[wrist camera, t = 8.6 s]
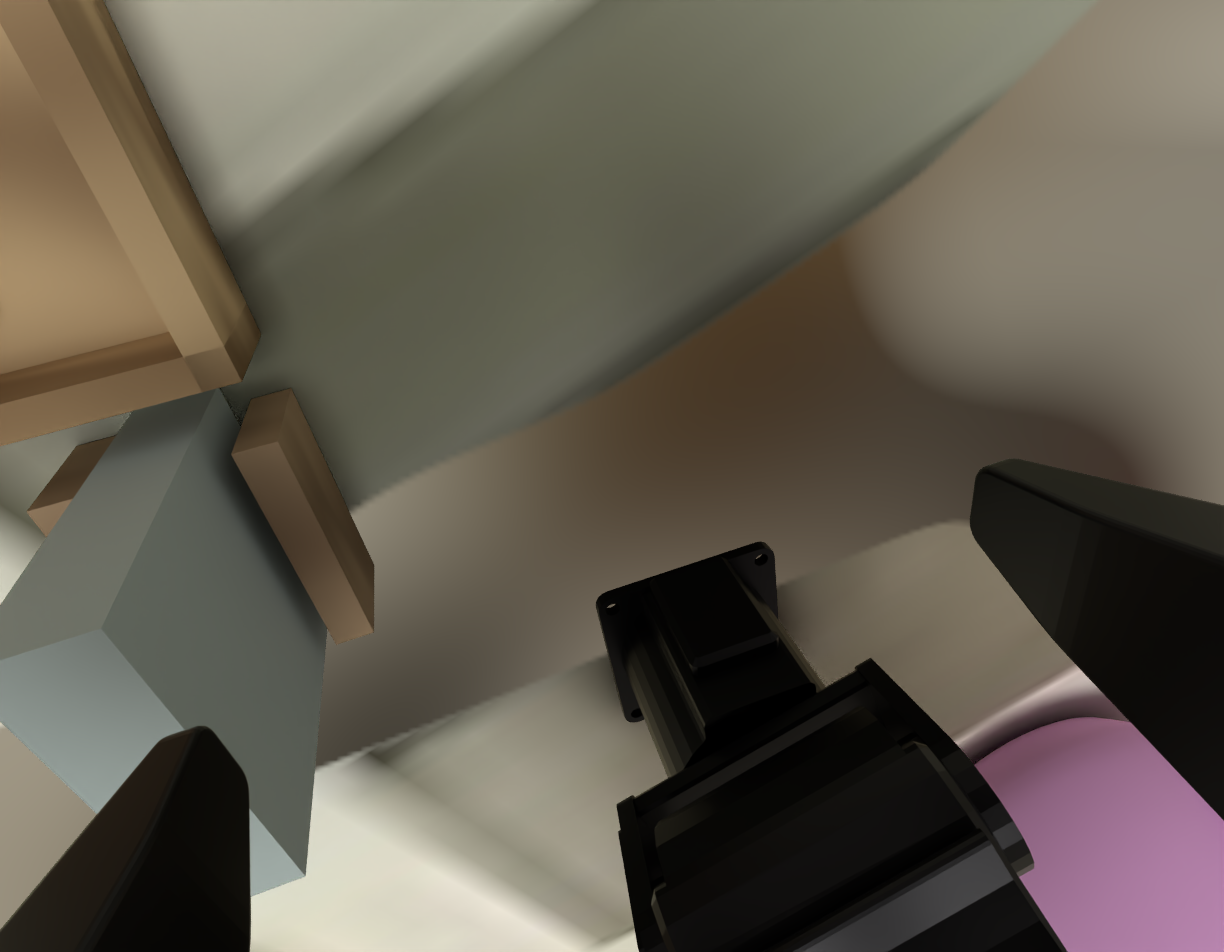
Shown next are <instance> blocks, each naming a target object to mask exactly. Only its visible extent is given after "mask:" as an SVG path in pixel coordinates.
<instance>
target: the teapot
mask: <svg viewBox="0 0 1224 952" xmlns="http://www.w3.org/2000/svg"><path fill="white" fill-rule="evenodd" d="M974 766H975V767H976V768H977V770H978V771H979V772H980V773H981V775H982V776H983V777H984V779H985V780H986V781H987V783H988V784H989V785H990V787H991V788H992V790H993V791H994V792H995V794H996V795H997V797H998V798H999V800H1000V801H1001V802H1002V804H1003V805H1004V807H1005V809H1006V810H1007V812H1008V813H1009V815H1010V816H1011V818H1012V819H1013V821H1014V823H1015V824H1016V826H1017V828H1018V829H1019V831H1020V833H1021V834H1022V836H1023V838H1024V840H1025V842H1026V844H1027V846H1028V848H1029V850H1030V852H1031V854H1032V857H1033V860H1034V869H1032V870H1031V871H1029V872H1027V873H1025V874H1024V875H1022V876H1020V877H1019V878H1020V879H1021V881H1022V883H1023V884H1024V886H1025V887H1026V889H1027V890H1028V892H1029V893H1030V895H1031V896H1032V898H1033V899H1034V901H1035V902H1036V904H1037V905H1038V907H1039V909H1040V910H1041V912H1042V913H1043V915H1044V916H1045V918H1046V919H1047V921H1048V922H1049V924H1050V925H1051V927H1052V928H1053V930H1054V931H1055V933H1056V935H1057V936H1058V938H1059V939H1060V941H1061V942H1062V944H1063V945H1064V947H1065V948H1066V950H1067V951H1068V952H1224V821H1223V820H1222V819H1221V817H1220V816H1219V815H1218V814H1217V813H1216V812H1215V811H1214V810H1213V809H1212V808H1211V807H1210V806H1209V805H1208V804H1207V803H1206V802H1205V801H1204V799H1203V798H1202V797H1201V796H1200V795H1199V794H1198V793H1197V792H1196V791H1195V790H1194V789H1193V788H1192V787H1191V786H1190V785H1189V784H1188V783H1187V782H1186V780H1185V779H1184V778H1183V777H1182V776H1181V775H1180V774H1179V773H1178V772H1177V771H1176V770H1175V769H1174V768H1173V767H1172V766H1171V765H1170V764H1169V762H1168V761H1167V760H1166V759H1165V758H1164V757H1163V756H1162V755H1161V754H1160V753H1159V752H1158V751H1157V750H1156V749H1155V748H1154V747H1153V746H1152V745H1151V743H1150V742H1149V741H1148V740H1147V739H1146V738H1145V737H1144V736H1143V735H1142V734H1141V733H1140V732H1139V731H1138V730H1137V729H1136V728H1135V727H1134V725H1133V724H1132V723H1131V722H1126V721H1120V720H1114V719H1103V718H1096V717H1080V718H1073V719H1067V720H1063V721H1059V722H1055V723H1052V724H1049V725H1046V726H1043V727H1040V728H1038V729H1035V730H1033V731H1031V732H1028V733H1026V734H1024V735H1022V736H1020V737H1018V738H1016V739H1014V740H1012V741H1010V742H1008V743H1007V744H1005V745H1003V746H1001V747H1000V748H998V749H996V750H995V751H993V752H992V753H990V754H989V755H987V756H986V757H984V758H983V759H981V760H980V761H979V762H977V763H976V764H975V765H974Z"/></svg>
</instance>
